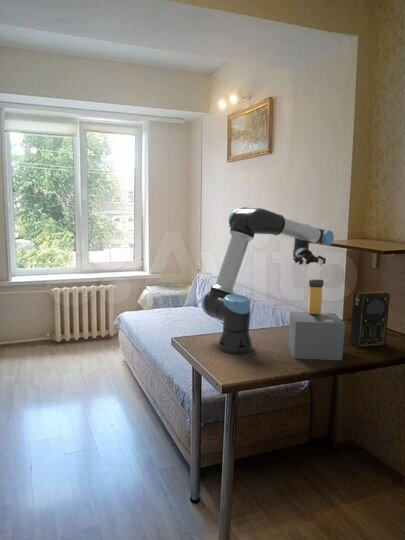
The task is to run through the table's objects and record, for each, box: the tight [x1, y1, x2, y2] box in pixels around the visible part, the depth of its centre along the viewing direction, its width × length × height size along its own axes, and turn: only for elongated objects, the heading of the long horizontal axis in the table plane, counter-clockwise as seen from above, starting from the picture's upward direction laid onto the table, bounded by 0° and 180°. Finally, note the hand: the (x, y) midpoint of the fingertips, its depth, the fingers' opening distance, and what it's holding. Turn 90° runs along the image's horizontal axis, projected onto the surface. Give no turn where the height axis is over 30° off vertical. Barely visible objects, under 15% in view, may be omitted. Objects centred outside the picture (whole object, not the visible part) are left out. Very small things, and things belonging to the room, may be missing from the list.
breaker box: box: [288, 311, 346, 361], centre depth 184 cm, size 20×16×16 cm
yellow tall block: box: [307, 278, 324, 314], centre depth 187 cm, size 6×3×15 cm, turn 87°
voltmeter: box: [349, 290, 391, 349], centre depth 196 cm, size 16×9×25 cm, turn 105°
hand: (313, 262), depth 192 cm, fingers open, 7 cm apart
